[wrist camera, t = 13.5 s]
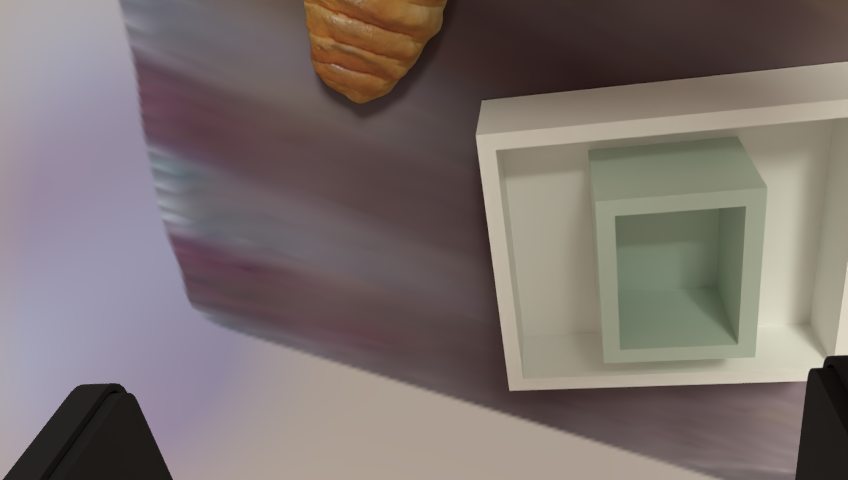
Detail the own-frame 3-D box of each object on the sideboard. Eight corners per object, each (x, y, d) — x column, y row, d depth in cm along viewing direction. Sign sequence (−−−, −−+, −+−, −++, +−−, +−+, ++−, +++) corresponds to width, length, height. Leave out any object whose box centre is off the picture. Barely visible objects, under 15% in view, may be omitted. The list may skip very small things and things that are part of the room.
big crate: (481, 100, 38) (475, 135, 34) (852, 60, 34) (892, 94, 30) (511, 339, 45) (509, 390, 41) (819, 325, 42) (848, 379, 38)
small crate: (588, 150, 37) (595, 201, 33) (737, 136, 36) (767, 187, 31) (596, 299, 42) (603, 363, 37) (729, 291, 40) (755, 357, 36)
